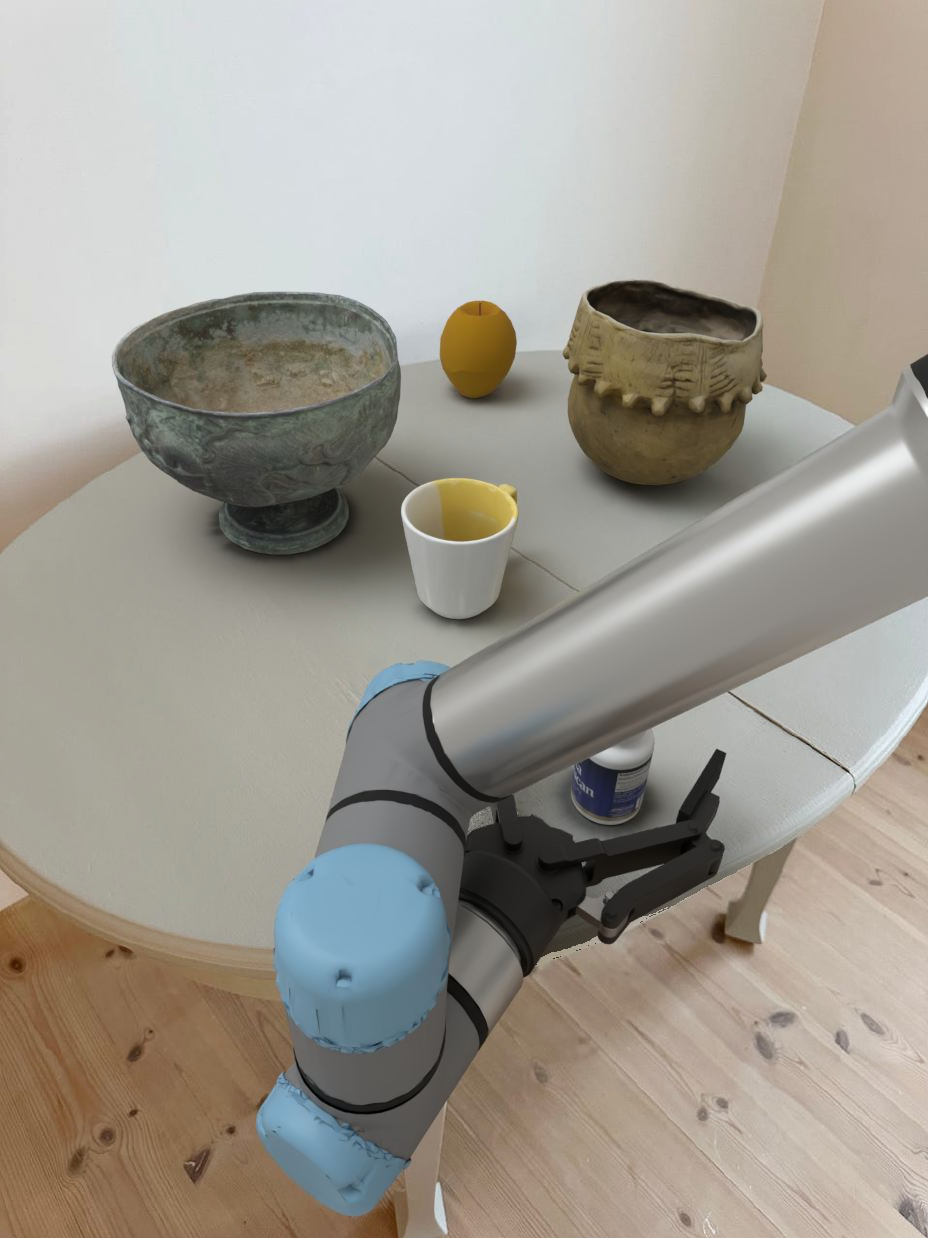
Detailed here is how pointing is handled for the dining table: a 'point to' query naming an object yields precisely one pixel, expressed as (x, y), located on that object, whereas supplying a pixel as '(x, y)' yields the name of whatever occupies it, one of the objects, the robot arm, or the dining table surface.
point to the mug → (459, 543)
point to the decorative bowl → (264, 407)
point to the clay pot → (660, 378)
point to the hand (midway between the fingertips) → (630, 723)
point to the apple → (477, 348)
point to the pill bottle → (613, 780)
